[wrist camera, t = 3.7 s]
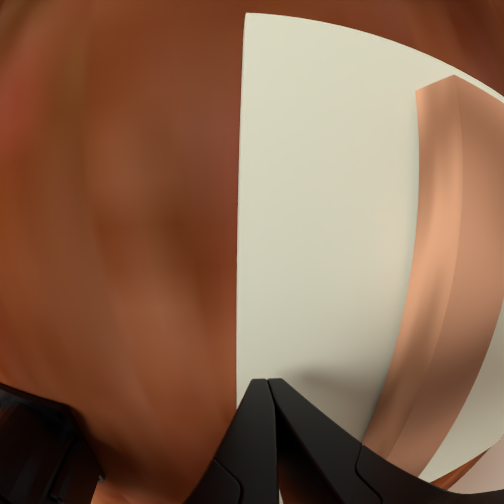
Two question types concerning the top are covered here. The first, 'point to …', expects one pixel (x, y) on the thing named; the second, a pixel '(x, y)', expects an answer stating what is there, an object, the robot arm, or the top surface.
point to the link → (446, 273)
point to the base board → (337, 223)
